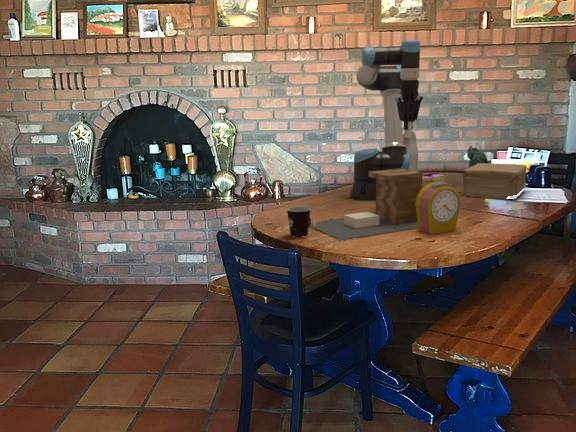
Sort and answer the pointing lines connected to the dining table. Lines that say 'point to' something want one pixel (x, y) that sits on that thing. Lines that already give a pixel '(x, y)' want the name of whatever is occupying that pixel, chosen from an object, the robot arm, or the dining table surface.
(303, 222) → the coffee mug
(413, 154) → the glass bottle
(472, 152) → the ceramic cat
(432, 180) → the gum box
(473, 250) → the dining table surface
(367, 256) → the dining table surface
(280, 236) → the dining table surface
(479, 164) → the paper package
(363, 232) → the mat
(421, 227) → the alarm clock
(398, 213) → the stand
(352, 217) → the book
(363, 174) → the robot arm
